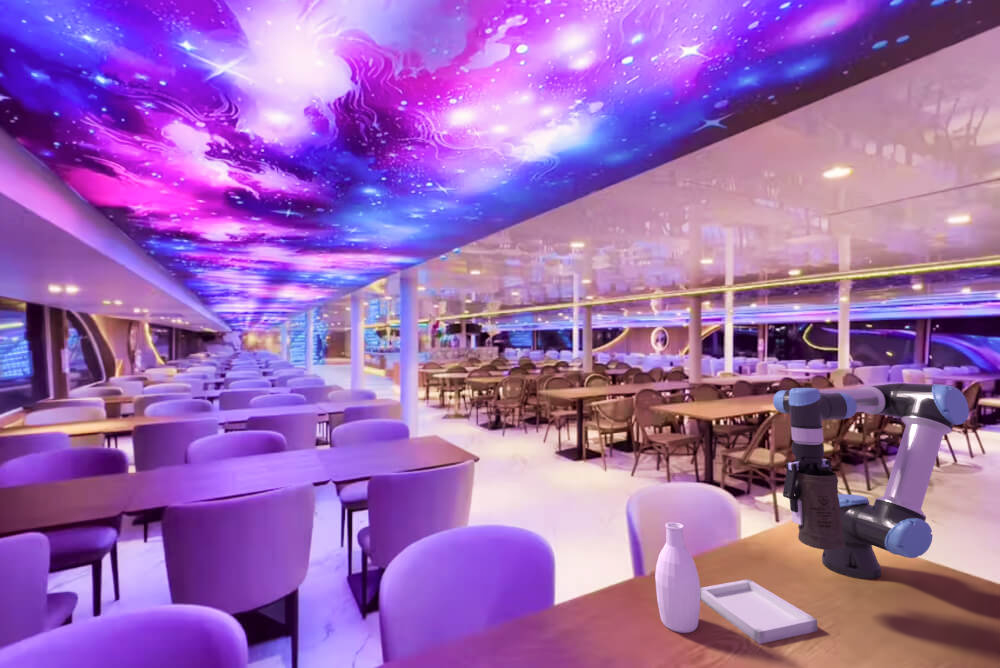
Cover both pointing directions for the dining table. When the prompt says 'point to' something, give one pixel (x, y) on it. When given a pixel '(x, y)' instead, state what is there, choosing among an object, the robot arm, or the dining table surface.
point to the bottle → (677, 583)
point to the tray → (757, 611)
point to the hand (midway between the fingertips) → (812, 521)
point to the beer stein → (820, 511)
